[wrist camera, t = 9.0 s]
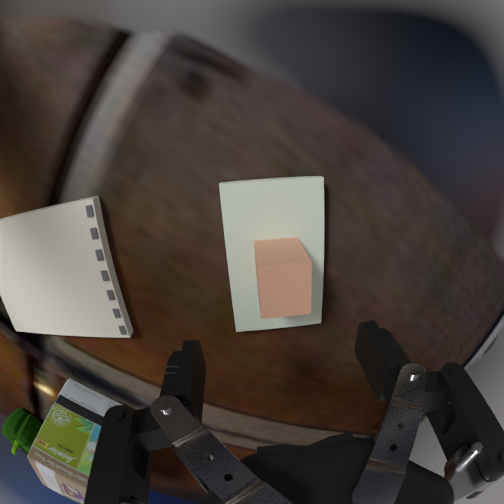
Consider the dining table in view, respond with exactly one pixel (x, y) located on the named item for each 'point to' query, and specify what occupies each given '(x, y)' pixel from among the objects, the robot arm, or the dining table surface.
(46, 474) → the tea box
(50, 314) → the white notebook
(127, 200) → the dining table surface
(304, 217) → the stub
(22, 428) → the bell pepper
